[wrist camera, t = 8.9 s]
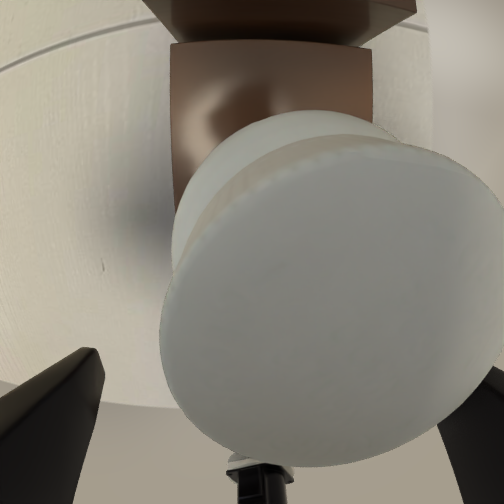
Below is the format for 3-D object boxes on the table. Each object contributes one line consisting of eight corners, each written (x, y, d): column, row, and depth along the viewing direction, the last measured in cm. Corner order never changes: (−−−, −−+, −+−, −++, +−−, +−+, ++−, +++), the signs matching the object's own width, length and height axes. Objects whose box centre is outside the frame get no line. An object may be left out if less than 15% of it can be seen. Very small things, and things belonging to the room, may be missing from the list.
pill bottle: (229, 265, 15) (210, 498, 5) (193, 138, 13) (26, 192, 3) (354, 236, 15) (497, 417, 4) (331, 107, 13) (545, 89, 2)
